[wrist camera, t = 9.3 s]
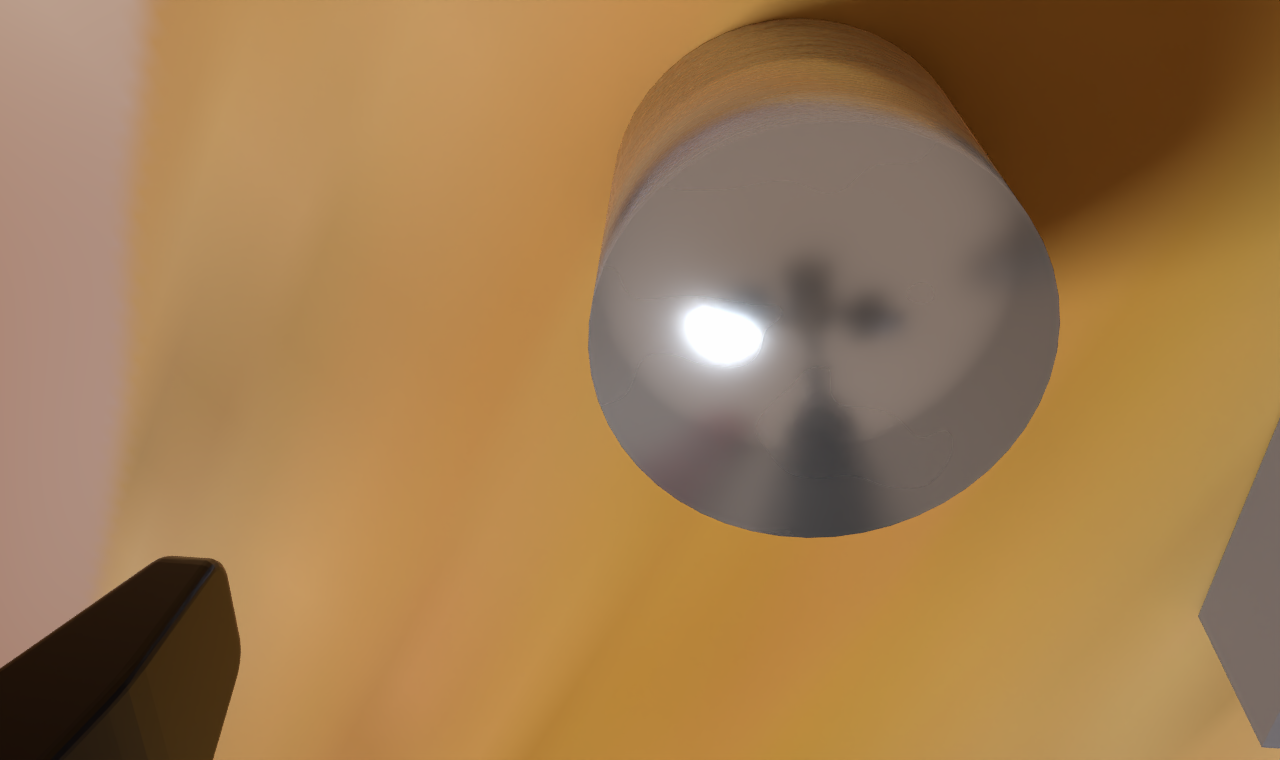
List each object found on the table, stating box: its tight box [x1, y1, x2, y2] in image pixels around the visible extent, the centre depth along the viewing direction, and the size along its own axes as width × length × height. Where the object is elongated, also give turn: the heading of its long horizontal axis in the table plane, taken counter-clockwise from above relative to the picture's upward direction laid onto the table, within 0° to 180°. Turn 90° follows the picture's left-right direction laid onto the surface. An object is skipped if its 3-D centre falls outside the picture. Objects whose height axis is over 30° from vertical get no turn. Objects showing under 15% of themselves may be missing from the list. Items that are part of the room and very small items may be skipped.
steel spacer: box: [588, 18, 1060, 538], centre depth 13 cm, size 4×4×4 cm
